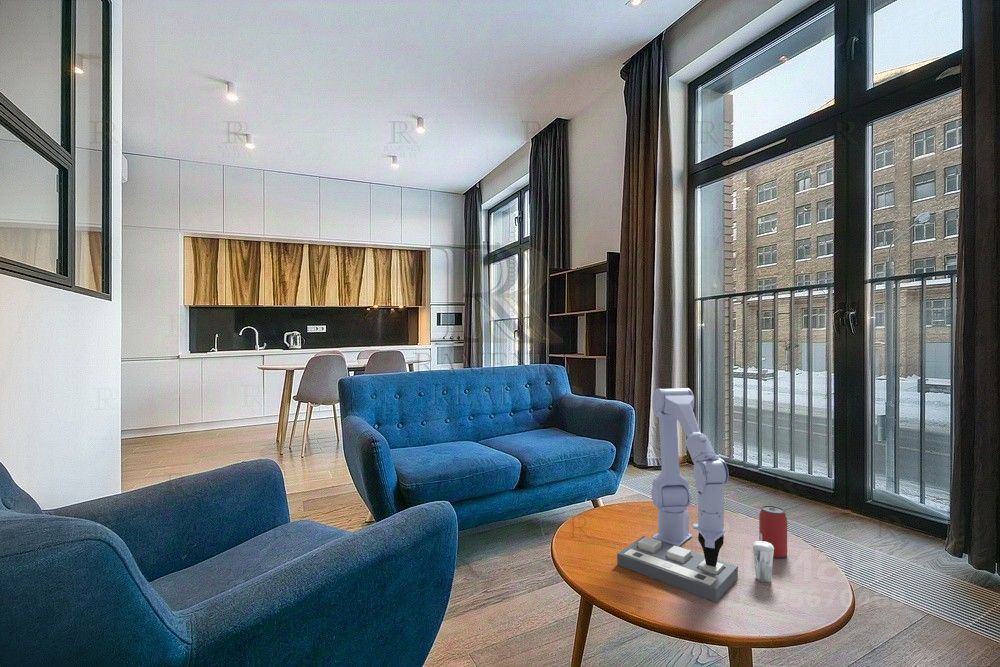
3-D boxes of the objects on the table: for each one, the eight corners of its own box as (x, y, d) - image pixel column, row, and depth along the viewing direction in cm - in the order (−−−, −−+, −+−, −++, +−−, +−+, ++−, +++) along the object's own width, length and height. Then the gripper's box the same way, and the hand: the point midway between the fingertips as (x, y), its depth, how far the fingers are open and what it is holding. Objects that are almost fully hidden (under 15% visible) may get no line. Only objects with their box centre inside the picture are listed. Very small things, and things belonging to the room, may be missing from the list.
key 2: (705, 570, 121) (705, 558, 121) (723, 576, 118) (723, 564, 118) (698, 577, 118) (698, 564, 118) (717, 583, 115) (716, 571, 115)
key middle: (674, 556, 126) (674, 545, 126) (691, 562, 123) (691, 550, 123) (667, 562, 123) (666, 551, 123) (683, 568, 120) (683, 556, 120)
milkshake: (771, 574, 120) (771, 534, 120) (775, 585, 115) (775, 544, 114) (750, 571, 121) (750, 532, 121) (754, 582, 116) (754, 541, 116)
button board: (643, 546, 136) (643, 534, 136) (737, 578, 118) (737, 564, 118) (617, 564, 126) (617, 552, 126) (716, 602, 108) (716, 587, 108)
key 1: (646, 547, 132) (646, 536, 132) (661, 552, 129) (661, 541, 129) (638, 552, 129) (638, 541, 129) (653, 558, 126) (653, 546, 126)
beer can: (782, 548, 133) (782, 505, 133) (791, 560, 127) (791, 514, 127) (756, 546, 135) (756, 503, 134) (763, 557, 128) (763, 512, 128)
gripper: (695, 497, 126) (695, 549, 126) (690, 517, 113) (691, 575, 113) (725, 501, 123) (725, 554, 123) (724, 522, 110) (724, 582, 110)
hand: (711, 564), depth 118 cm, fingers closed, pressing on key 2
